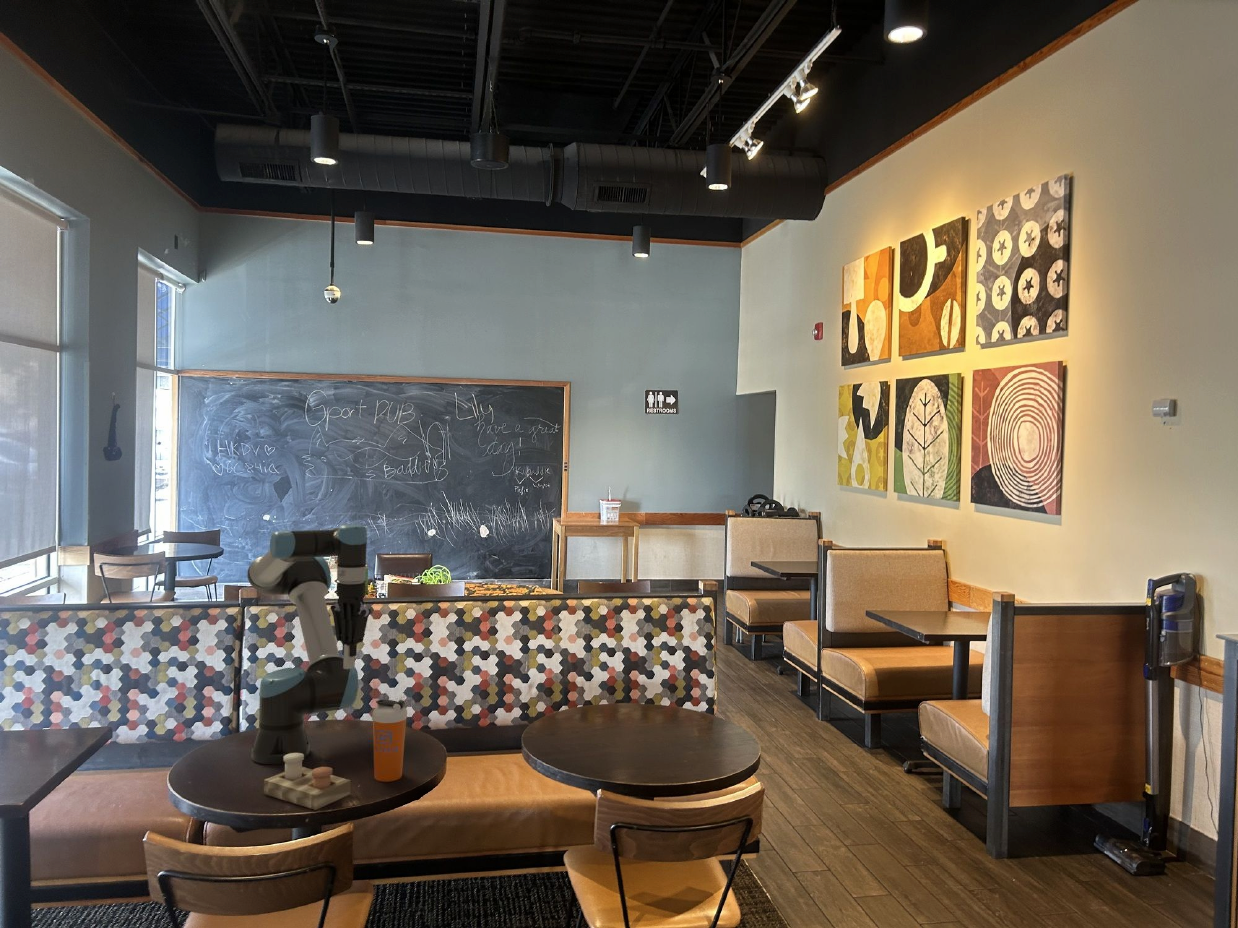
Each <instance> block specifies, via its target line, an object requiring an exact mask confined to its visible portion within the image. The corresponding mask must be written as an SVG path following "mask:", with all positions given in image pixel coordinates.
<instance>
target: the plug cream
mask: <svg viewBox="0 0 1238 928" xmlns="http://www.w3.org/2000/svg"><path fill="white" fill-rule="evenodd" d="M303 760H305V757H304V754H302V753H290V754H287V755H285V756H284V759H283V761H284V762H285V763H284V772H285V779H286V780H290V781H294V780H297V779H299V778H302V767H303Z"/></svg>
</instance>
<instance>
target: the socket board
mask: <svg viewBox="0 0 1238 928" xmlns="http://www.w3.org/2000/svg"><path fill="white" fill-rule="evenodd" d="M312 770H313V769H311V768H307V767H305V766H302V778H299V779H297V780H294V781H290V780H286V779H285V771H283V772H280V773H278V774H275V775H273V776H270V777H268V778H265V779H263V795H266V796H270V797H273V798H277V799H278V800H283V801H285V802H289V803H292V804H296V805H298V806H302V807H306V808H308V809H312V810H314V811H317V810H319V809H321V808H323V807H325V806H328V805H329V804H331V803H334V802H337V801H339V800H341V799H343V798H346V796H349V795H351V779H347V778H343V777H341V776H340V777H339V776H337V775H333V774H331V780H330V786H329V787H327V788H324V789H322V790H320V789H317V788H313V776H312Z"/></svg>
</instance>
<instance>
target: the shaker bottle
mask: <svg viewBox="0 0 1238 928" xmlns="http://www.w3.org/2000/svg"><path fill="white" fill-rule="evenodd" d="M375 703H376V704H377V706H376V707H375V708H374V710H373V711H372V713H371V715H372V718H371V721H372V726H373V729H372V730H373V731H372V733H373V768H374V769H373V770H374V773H373V776H374V780H375V781H378V782H382V783H383V782H385V783H386V782H394V781H398V780H400V779H401V778H402V777H403V767H404V766H403V765H404V755H405V753H404V751H405V741H406V740H405V738H406V737H405V736H406V727H407V726H406V725H407V718H408V710H407V709H406V701H405V700H403V699H399V700H393V699H383V698H382V699H378V700H376V701H375Z"/></svg>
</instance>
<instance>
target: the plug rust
mask: <svg viewBox="0 0 1238 928" xmlns="http://www.w3.org/2000/svg"><path fill="white" fill-rule="evenodd" d="M331 775H333V768H332V767H329V766H320V767H315V768H314V769H312V776H313V788H317V789H320V790H322V789H324V788H327V787H329V786H330V780H331Z"/></svg>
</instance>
